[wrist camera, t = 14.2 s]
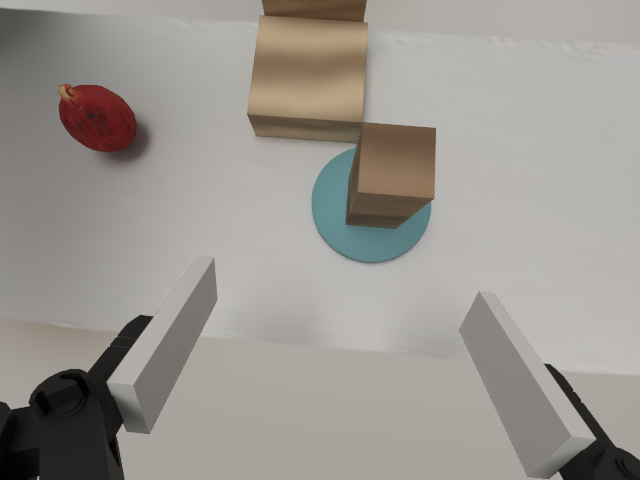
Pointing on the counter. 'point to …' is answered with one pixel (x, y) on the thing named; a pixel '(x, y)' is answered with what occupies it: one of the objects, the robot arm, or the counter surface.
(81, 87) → the onion
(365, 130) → the block
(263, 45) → the ledge
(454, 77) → the counter surface
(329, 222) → the teal flattened ellipsoid
